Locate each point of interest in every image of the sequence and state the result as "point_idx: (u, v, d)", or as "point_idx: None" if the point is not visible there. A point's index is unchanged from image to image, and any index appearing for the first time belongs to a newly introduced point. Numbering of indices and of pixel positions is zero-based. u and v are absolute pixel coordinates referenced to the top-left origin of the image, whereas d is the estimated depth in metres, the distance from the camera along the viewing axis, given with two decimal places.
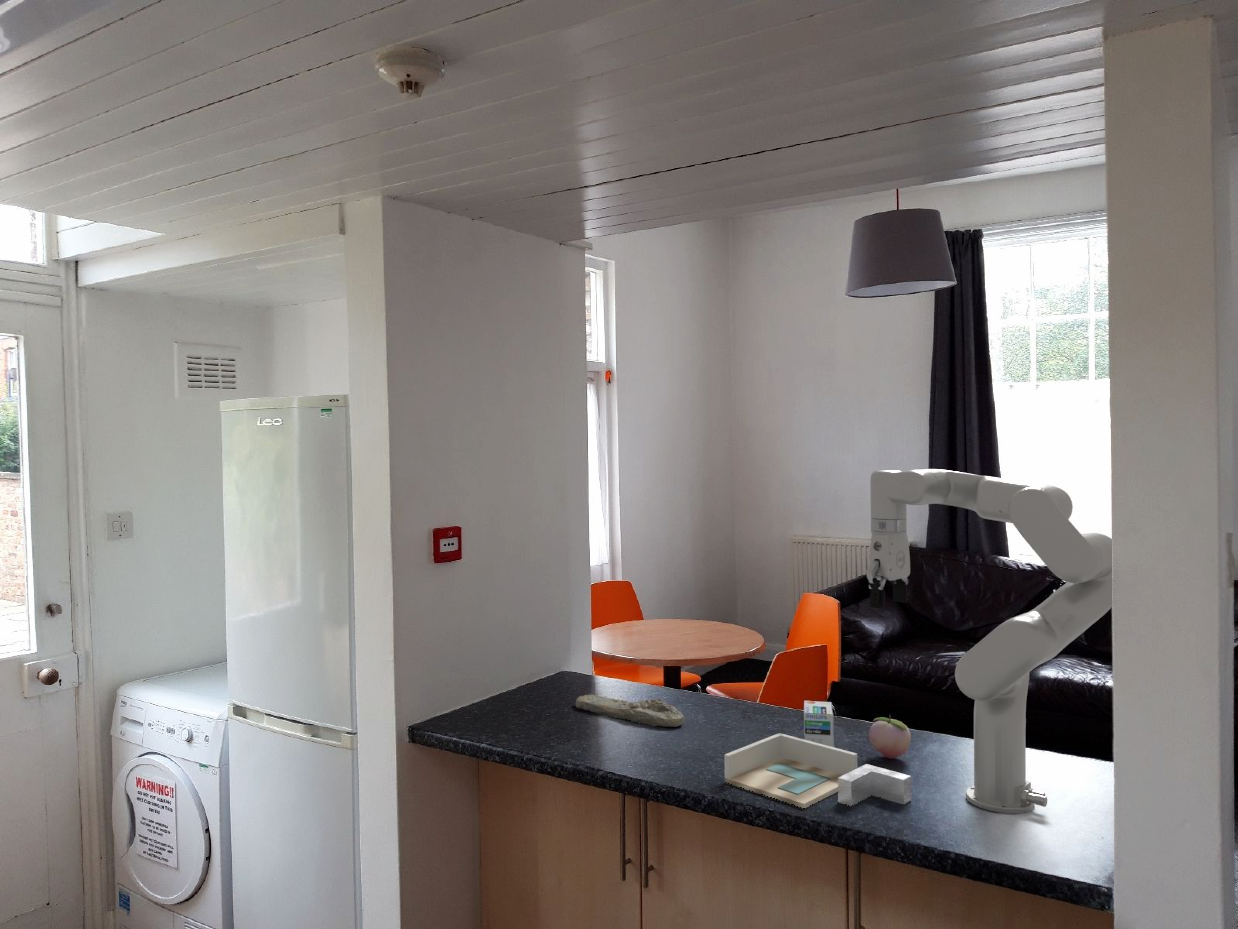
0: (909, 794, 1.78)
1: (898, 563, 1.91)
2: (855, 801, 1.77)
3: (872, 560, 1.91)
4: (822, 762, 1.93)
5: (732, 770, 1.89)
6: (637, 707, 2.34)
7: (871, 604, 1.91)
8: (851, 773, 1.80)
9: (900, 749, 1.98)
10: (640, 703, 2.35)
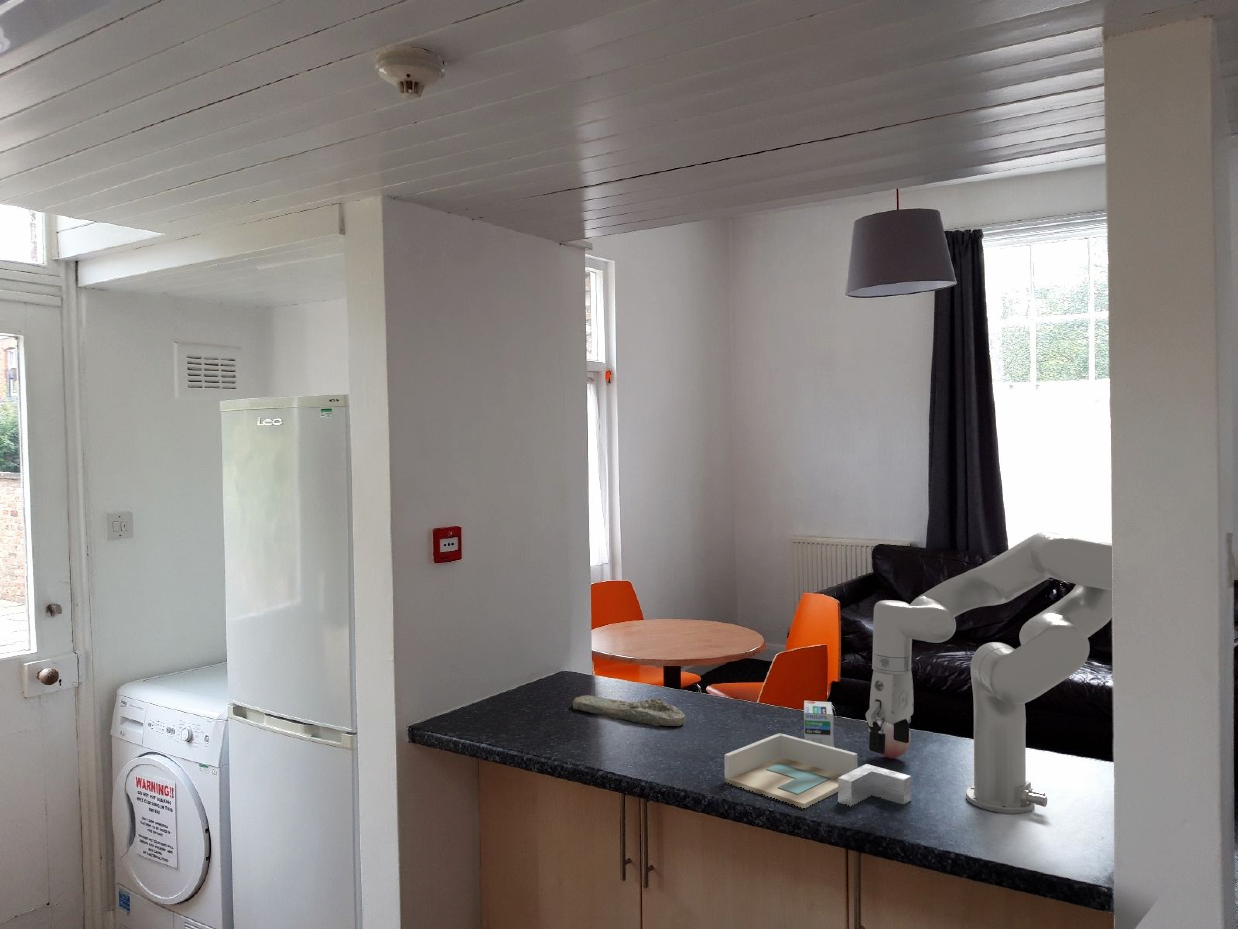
0: (909, 794, 1.78)
1: (901, 704, 1.77)
2: (855, 801, 1.77)
3: (873, 700, 1.77)
4: (822, 762, 1.93)
5: (732, 770, 1.89)
6: (637, 707, 2.34)
7: (870, 747, 1.77)
8: (851, 773, 1.80)
9: (900, 749, 1.98)
10: (640, 703, 2.35)
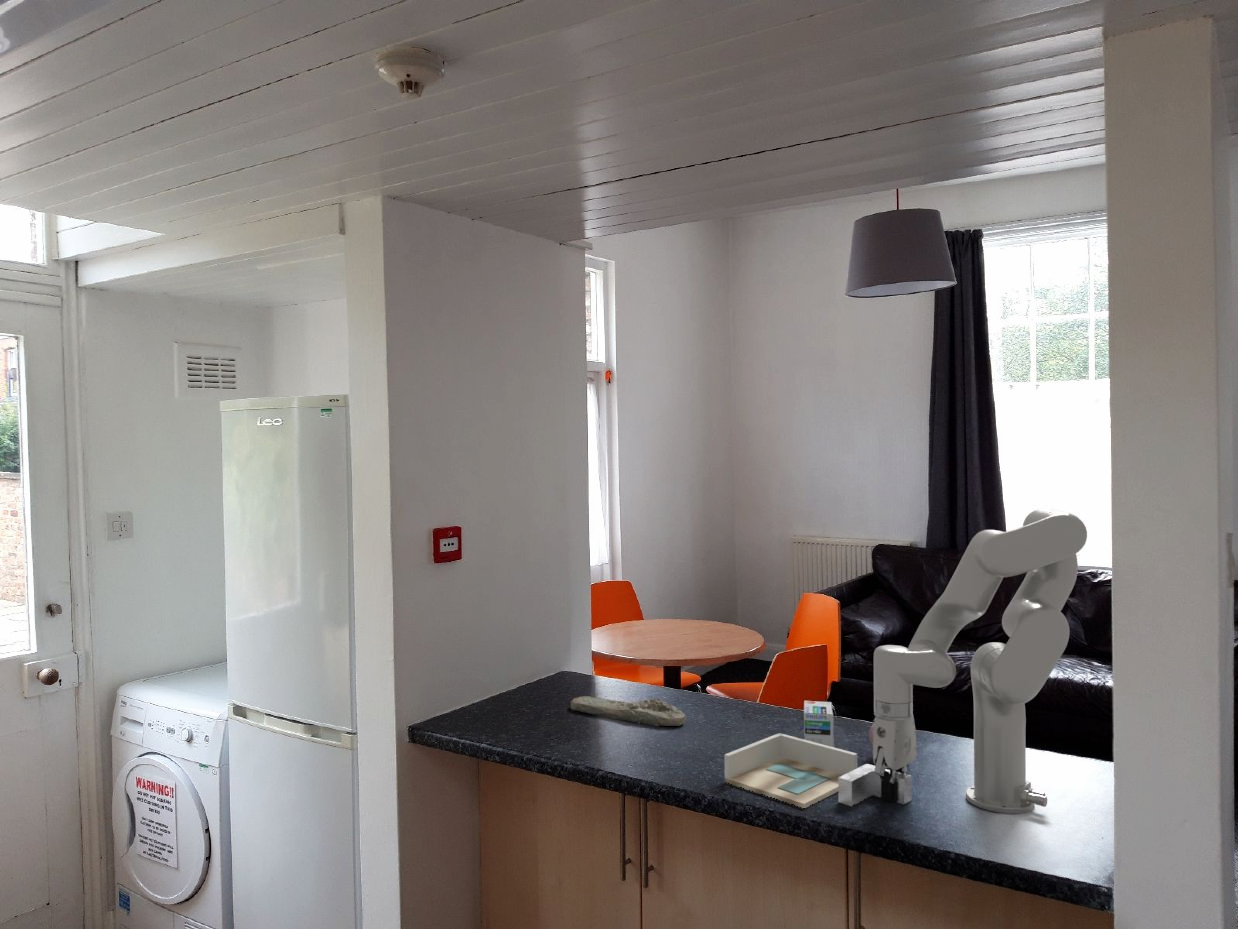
0: (909, 794, 1.78)
1: (904, 750, 1.77)
2: (856, 801, 1.77)
3: (875, 747, 1.77)
4: (822, 762, 1.93)
5: (732, 770, 1.89)
6: (637, 707, 2.34)
7: (882, 796, 1.79)
8: (851, 773, 1.80)
9: None
10: (639, 703, 2.35)
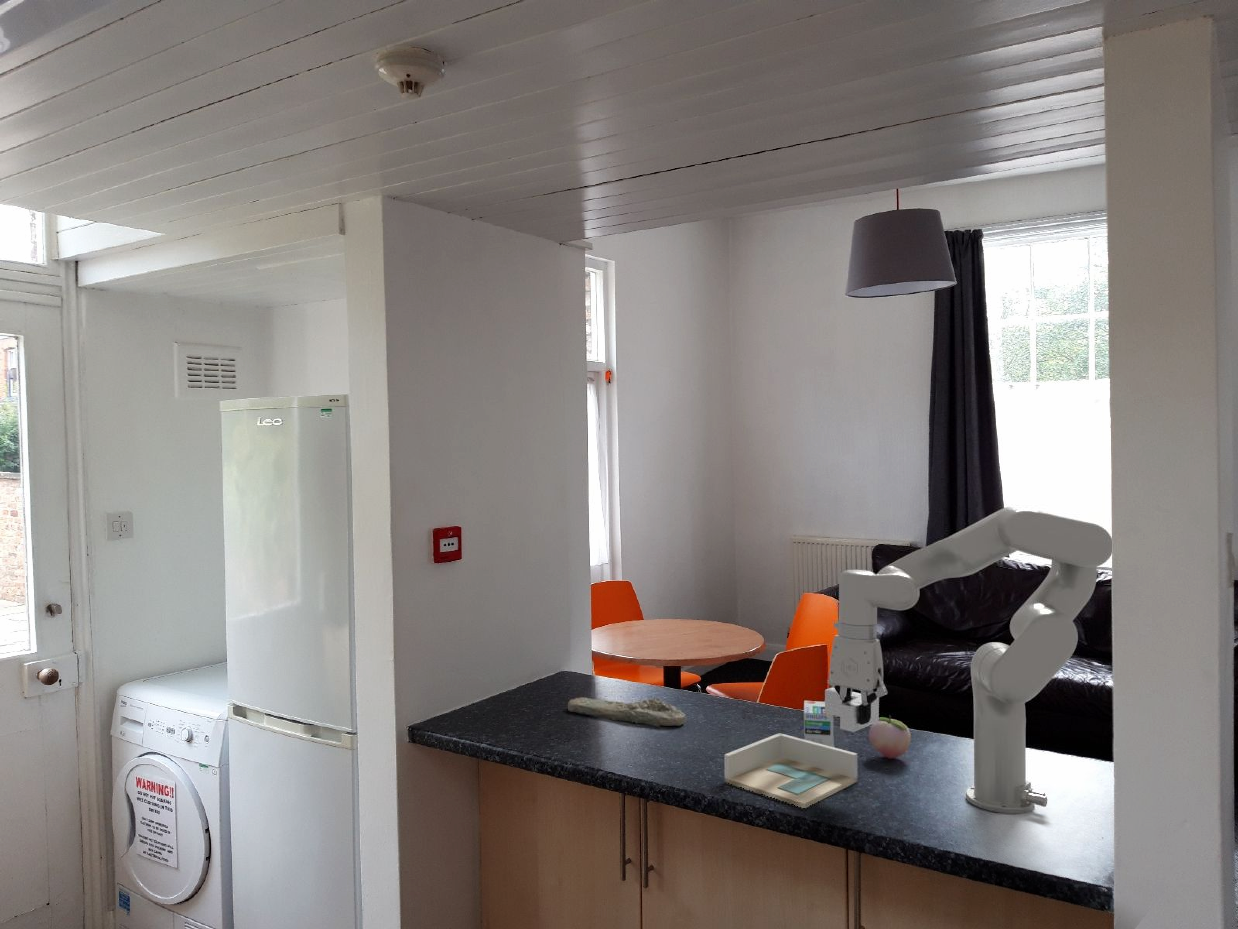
0: (850, 724, 1.77)
1: (845, 670, 1.79)
2: (831, 711, 1.89)
3: None
4: (822, 762, 1.93)
5: (732, 770, 1.89)
6: (636, 708, 2.33)
7: None
8: None
9: (900, 749, 1.98)
10: (638, 704, 2.35)
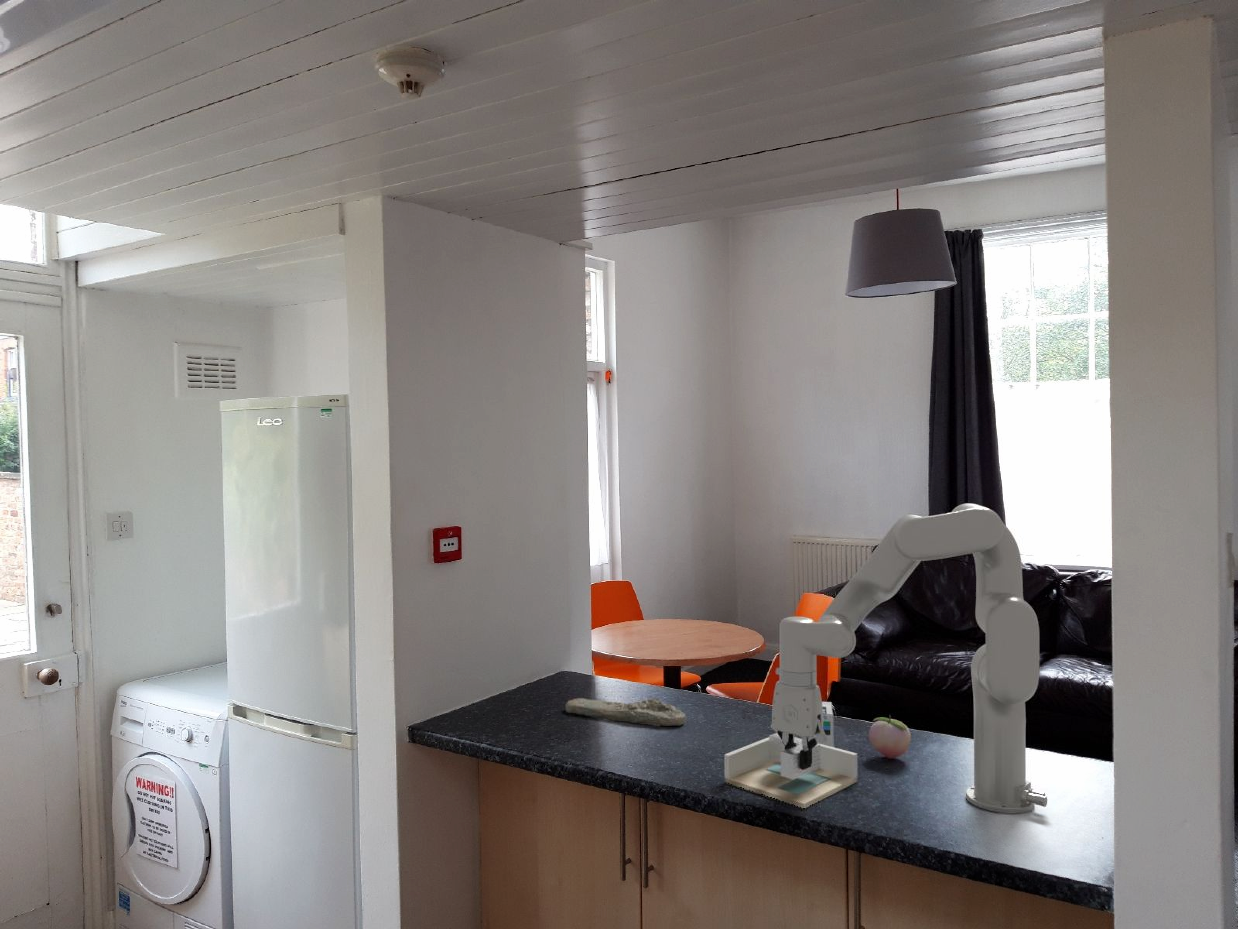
0: (790, 771, 1.80)
1: (786, 716, 1.82)
2: (775, 757, 1.92)
3: None
4: (822, 762, 1.93)
5: (732, 770, 1.89)
6: (636, 708, 2.33)
7: None
8: None
9: (900, 749, 1.98)
10: (638, 704, 2.35)
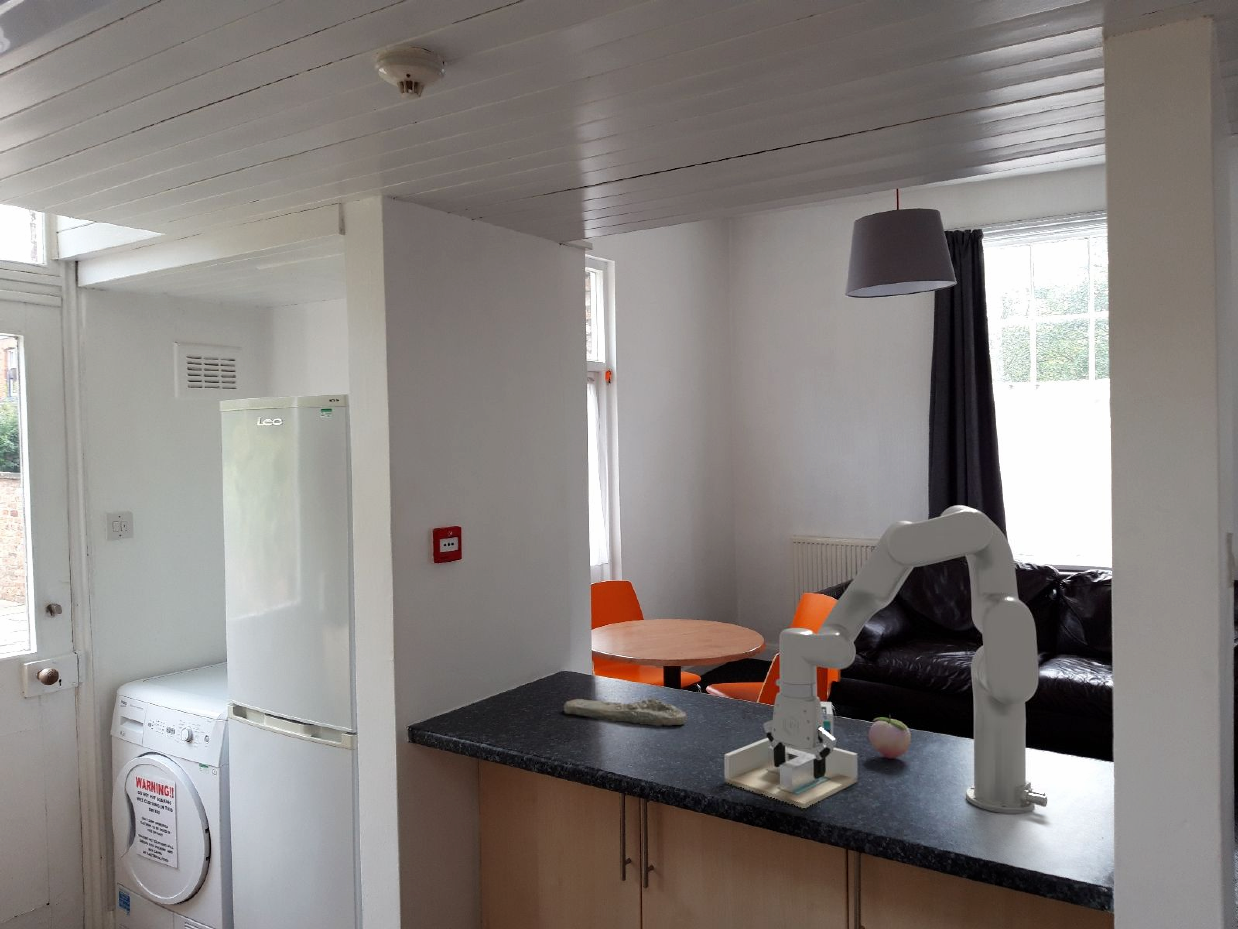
0: (789, 784, 1.80)
1: (787, 728, 1.82)
2: (774, 769, 1.91)
3: None
4: None
5: (732, 770, 1.89)
6: (636, 708, 2.33)
7: None
8: (789, 749, 1.91)
9: (900, 749, 1.98)
10: (638, 704, 2.35)
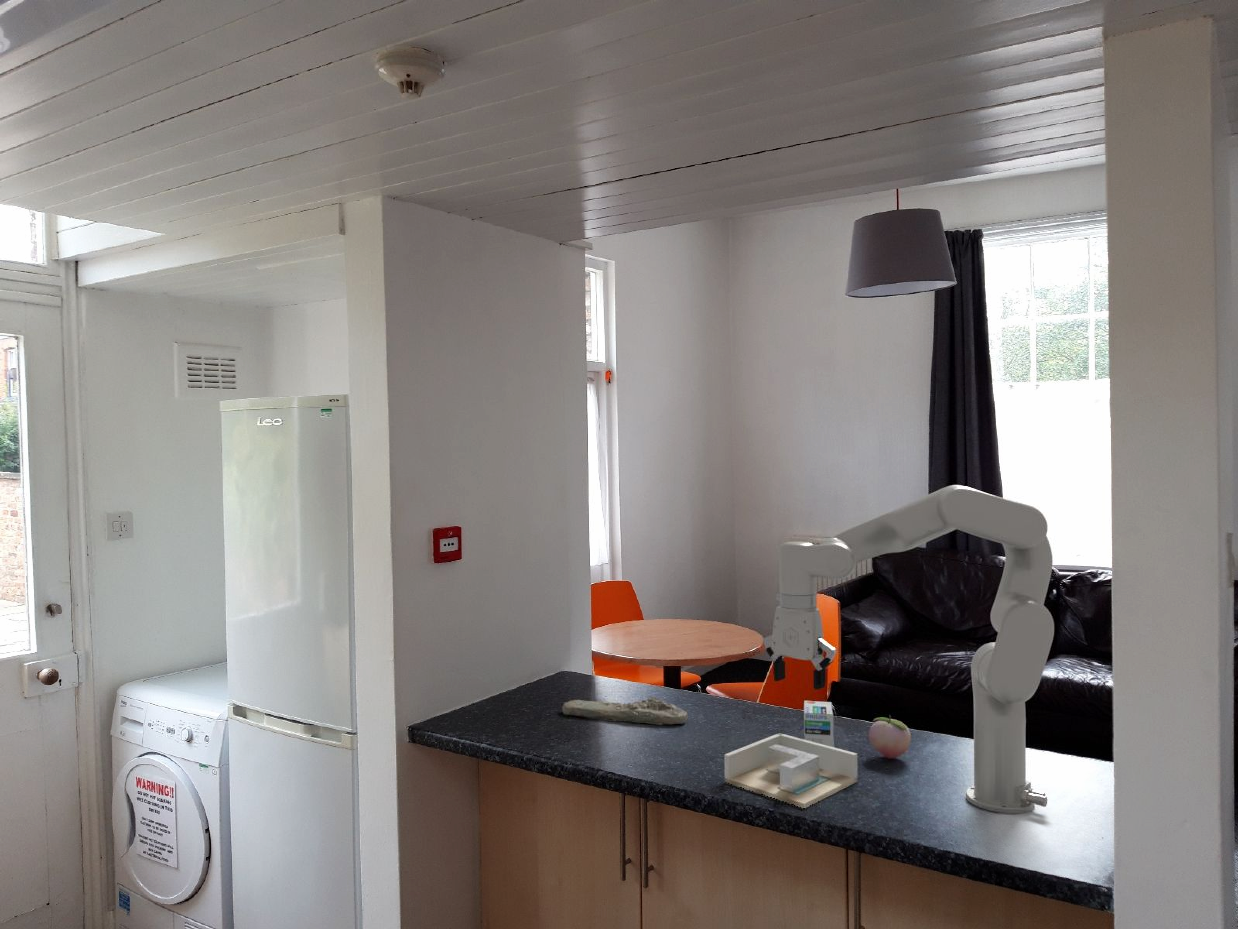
0: (789, 784, 1.80)
1: (787, 640, 1.82)
2: (774, 769, 1.91)
3: None
4: (822, 762, 1.93)
5: (732, 770, 1.89)
6: (637, 708, 2.33)
7: None
8: (789, 749, 1.91)
9: (900, 749, 1.98)
10: (638, 703, 2.35)
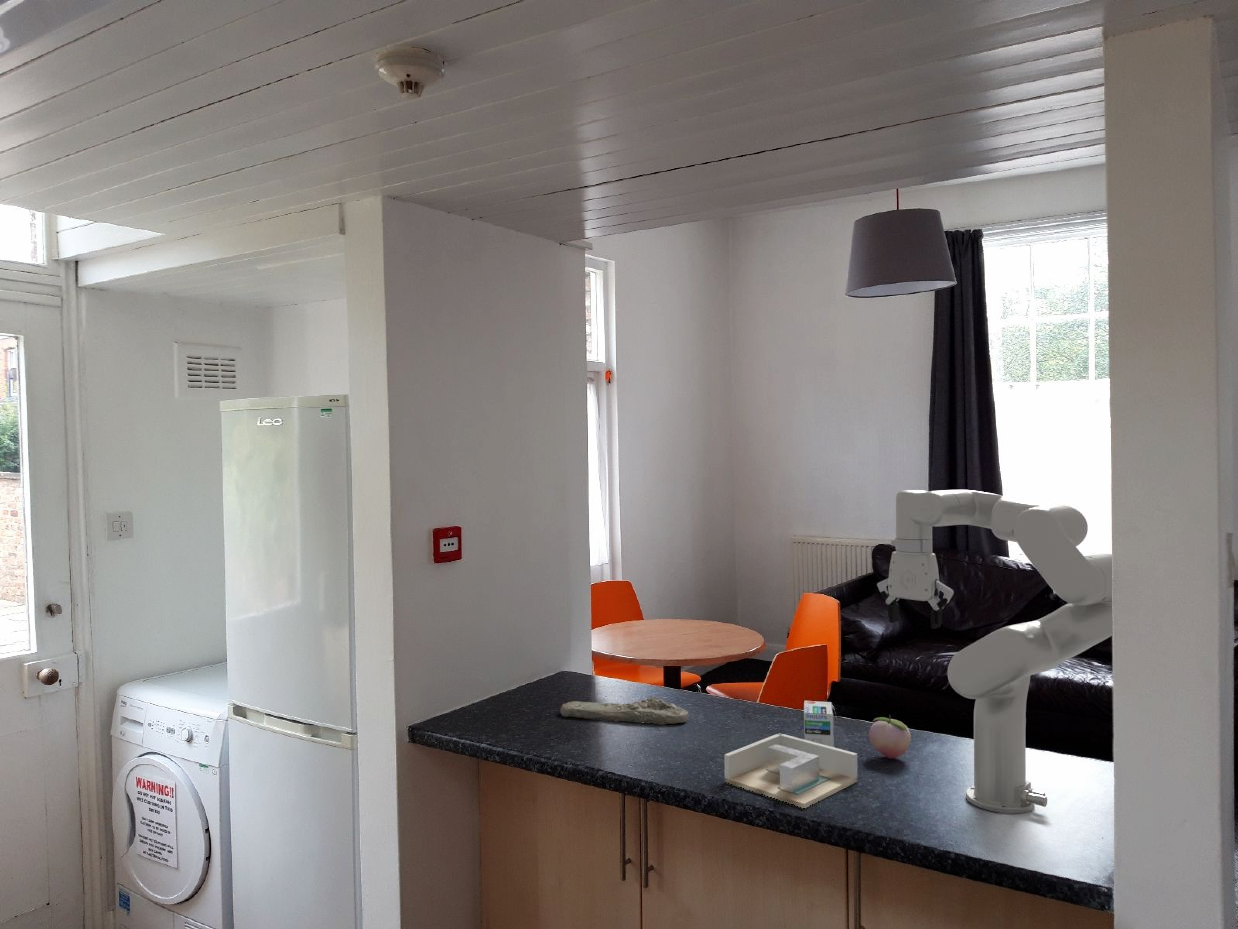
0: (789, 784, 1.80)
1: (904, 583, 1.92)
2: (774, 769, 1.91)
3: None
4: (822, 762, 1.93)
5: (732, 770, 1.89)
6: (638, 708, 2.33)
7: None
8: (789, 749, 1.91)
9: (900, 749, 1.98)
10: (638, 703, 2.35)
